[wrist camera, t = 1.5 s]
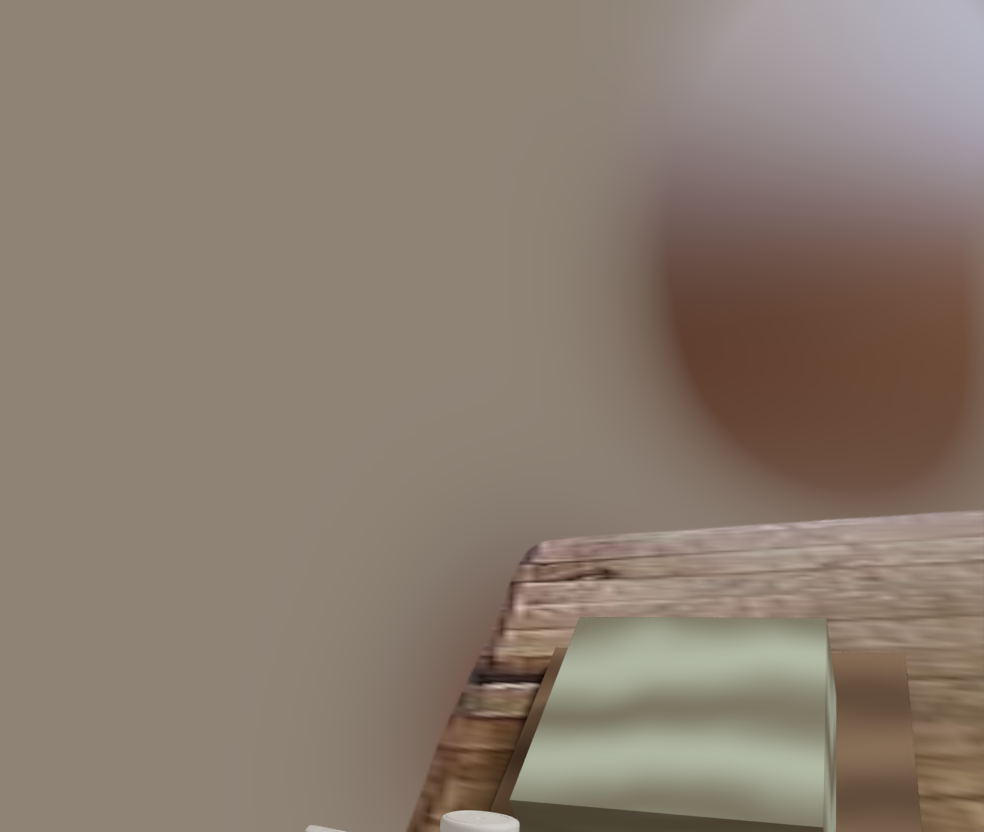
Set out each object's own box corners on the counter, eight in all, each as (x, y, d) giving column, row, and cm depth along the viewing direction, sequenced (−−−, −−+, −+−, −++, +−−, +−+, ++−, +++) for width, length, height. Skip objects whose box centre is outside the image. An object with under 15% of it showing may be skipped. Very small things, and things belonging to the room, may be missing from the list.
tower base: (559, 662, 58) (538, 581, 56) (906, 671, 50) (898, 576, 48) (444, 958, 41) (407, 858, 39) (941, 1040, 33) (931, 921, 31)
